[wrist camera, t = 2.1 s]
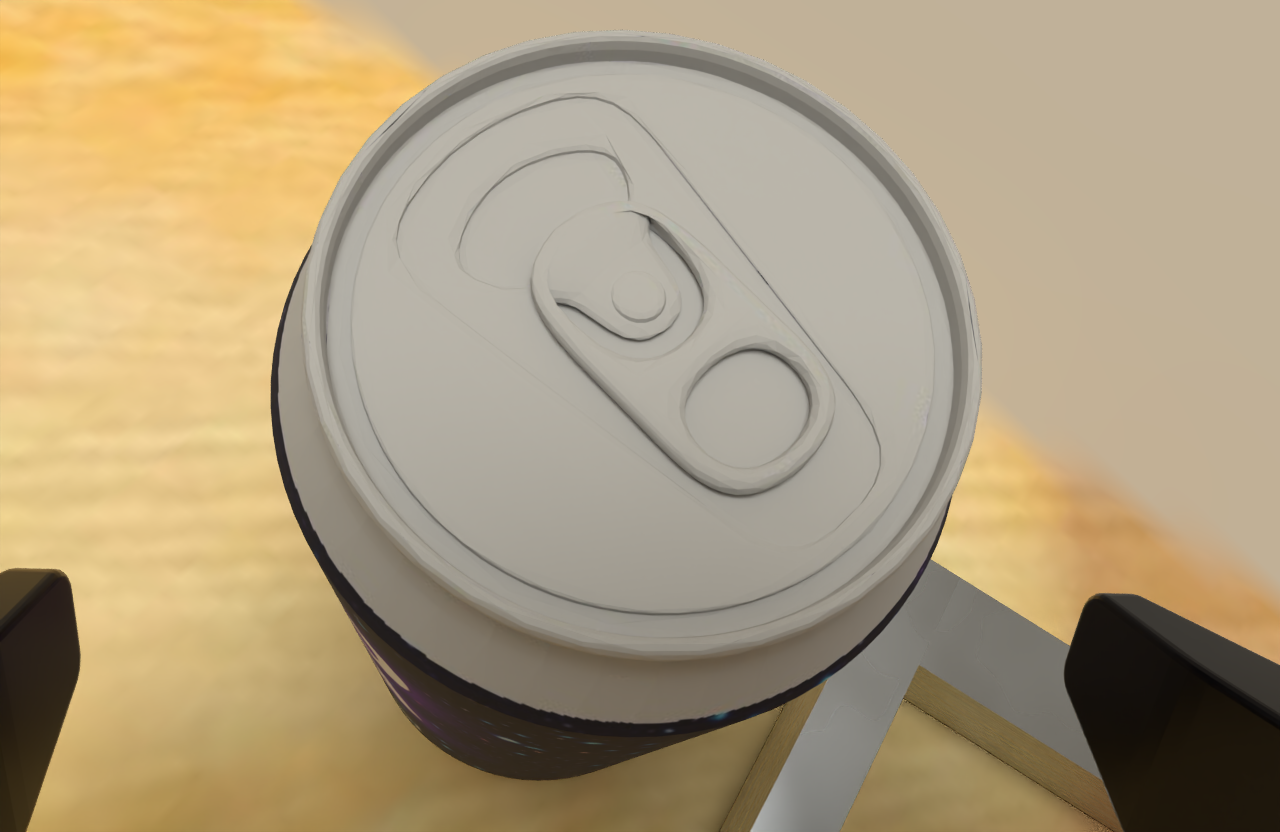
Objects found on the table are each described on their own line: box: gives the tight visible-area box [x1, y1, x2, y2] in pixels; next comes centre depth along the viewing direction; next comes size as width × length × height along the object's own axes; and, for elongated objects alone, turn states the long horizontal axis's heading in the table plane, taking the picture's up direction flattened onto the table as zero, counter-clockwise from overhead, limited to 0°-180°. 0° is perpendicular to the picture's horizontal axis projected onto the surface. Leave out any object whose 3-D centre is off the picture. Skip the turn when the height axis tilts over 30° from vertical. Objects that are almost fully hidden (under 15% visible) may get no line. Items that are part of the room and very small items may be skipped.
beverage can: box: [271, 30, 982, 780], centre depth 13 cm, size 6×6×12 cm
